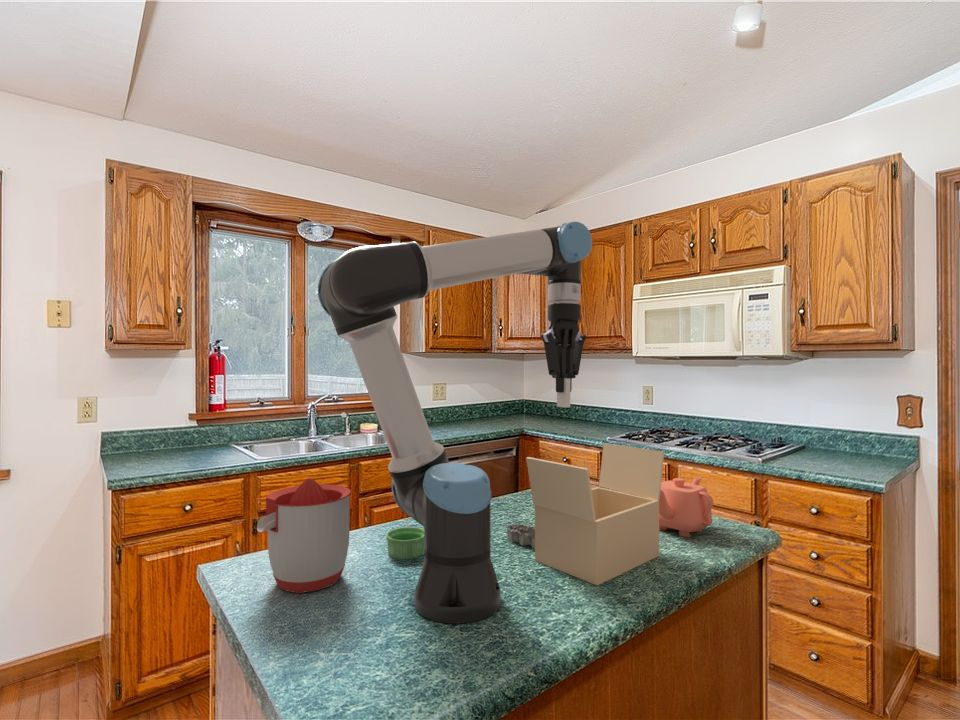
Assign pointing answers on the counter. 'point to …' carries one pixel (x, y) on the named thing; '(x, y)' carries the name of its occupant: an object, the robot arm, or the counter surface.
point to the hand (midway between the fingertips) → (563, 406)
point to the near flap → (561, 488)
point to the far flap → (632, 470)
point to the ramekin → (405, 542)
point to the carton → (599, 536)
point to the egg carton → (521, 534)
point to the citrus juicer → (307, 535)
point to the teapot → (684, 506)
